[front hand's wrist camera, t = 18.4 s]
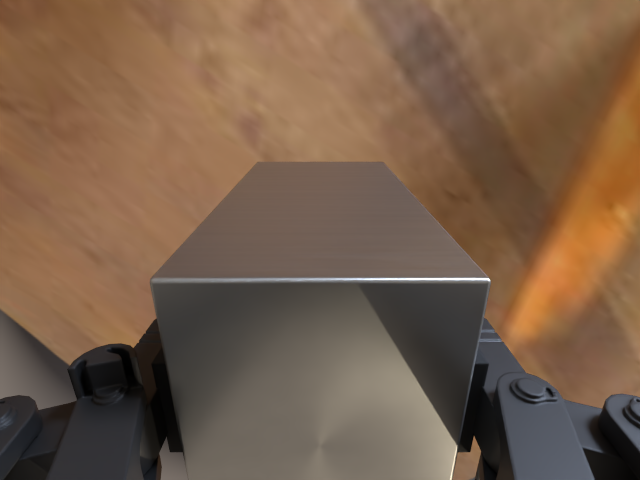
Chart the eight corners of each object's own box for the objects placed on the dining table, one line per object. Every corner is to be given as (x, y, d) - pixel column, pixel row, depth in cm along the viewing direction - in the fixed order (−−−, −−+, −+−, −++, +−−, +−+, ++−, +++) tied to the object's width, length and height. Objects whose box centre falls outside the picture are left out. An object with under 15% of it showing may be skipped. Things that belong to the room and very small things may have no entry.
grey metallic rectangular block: (266, 307, 20) (201, 559, 9) (256, 161, 17) (146, 279, 6) (374, 307, 20) (438, 559, 9) (383, 161, 17) (493, 280, 6)
